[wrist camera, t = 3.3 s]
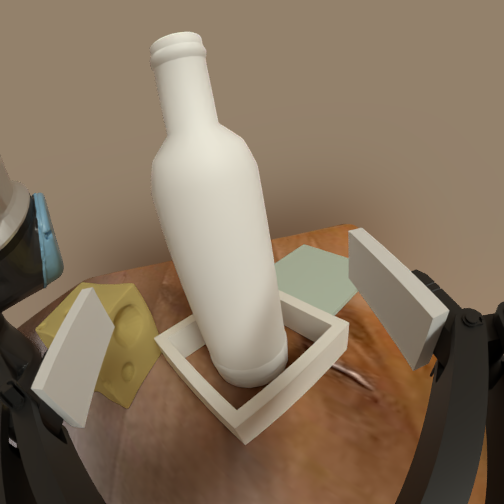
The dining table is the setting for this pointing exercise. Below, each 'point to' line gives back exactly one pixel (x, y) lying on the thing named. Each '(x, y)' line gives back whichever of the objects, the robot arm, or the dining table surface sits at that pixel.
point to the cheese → (116, 339)
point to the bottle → (215, 220)
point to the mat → (316, 278)
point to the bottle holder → (279, 390)
